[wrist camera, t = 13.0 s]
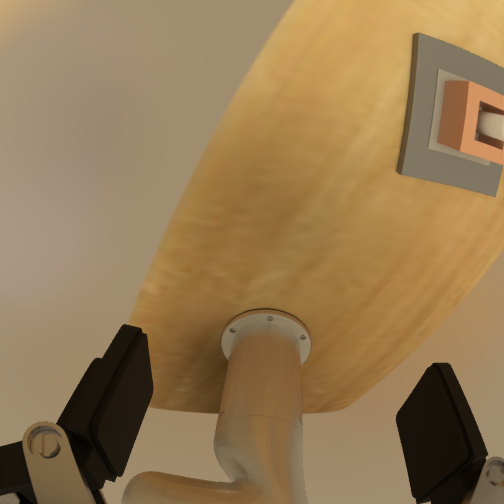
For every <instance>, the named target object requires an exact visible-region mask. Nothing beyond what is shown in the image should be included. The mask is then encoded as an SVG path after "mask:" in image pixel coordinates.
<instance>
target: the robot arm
mask: <svg viewBox="0 0 504 504" xmlns="http://www.w3.org/2000/svg"><path fill="white" fill-rule="evenodd" d="M221 347H222V351H223V353H224V355H225V357H226V358H227V360H228V361H229V363H228V368H227V374H226V379H225V384H224V389H223V395H222V400H221V405H220V410H219V416H218V422H217V426H216V431H215V436H214V451H215V455H216V458H217V460H218V462H219V464H220V465H221V467H222V469H223V470H224V472H225V473H226V475H227V476H228V477H229V478H230V480H231V481H232V483H231V482H230V483H228V482H214V481H207V480H201V479H195V478H189V477H184V476H178V475H173V474H168V473H162V472H155V471H148V472H142V473H139V474H137V475H136V476H134V477H133V478H132V479H131V480H130V481H129V483H128V484H127V486H126V488H125V490H124V494H123V498H122V503H121V504H308V502H307V496H306V490H305V483H304V472H303V471H304V470H303V434H302V433H303V431H302V387H301V365H302V364H303V363H304V362H305V361H306V360H307V358H308V356H309V354H310V351H311V338H310V335H309V332H308V330H307V329H306V327H305V326H304V325H303V324H302V323H301V322H300V321H299V320H298V319H296V318H295V317H293V316H291V315H289V314H287V313H284V312H280V311H275V310H254V311H249V312H246V313H243V314H241V315H239V316H237V317H235V318H234V319H233V320H232V321H230V322H229V324H228V325H227V326H226V327H225V330H224V332H223V335H222V339H221ZM152 394H153V380H152V372H151V365H150V357H149V348H148V339H147V334H145V333H142V329H141V328H139V327H135V326H130V325H126V324H124V325H122V326H121V328H120V329H119V331H118V333H117V334H116V336H115V338H114V339H113V341H112V343H111V344H110V346H109V348H108V349H107V351H106V353H105V354H104V356H103V358H102V359H101V358H96V359H94V360H93V361H92V363H91V364H90V366H89V367H88V369H87V371H86V372H85V374H84V376H83V377H82V379H81V381H80V383H79V384H78V386H77V388H76V389H75V391H74V393H73V394H72V396H71V398H70V400H69V401H68V403H67V405H66V407H65V409H64V410H63V412H62V414H61V416H60V417H59V419H58V421H57V423H56V424H55V423H52V422H47V421H43V422H38V423H35V424H33V425H31V426H30V427H29V428H28V429H27V430H26V432H25V433H24V436H23V440H22V441H20V442H16V443H12V444H8V445H4V446H0V504H107V502H106V499H105V497H104V495H103V493H102V491H101V489H102V488H103V486H104V483H105V480H109V481H112V482H115V480H116V477H117V476H118V477H121V476H122V475H123V473H124V470H125V467H126V465H127V462H128V459H129V456H130V453H131V451H132V448H133V445H134V443H135V440H136V437H137V435H138V432H139V429H140V426H141V424H142V421H143V418H144V416H145V413H146V411H147V408H148V405H149V403H150V400H151V398H152ZM396 424H397V427H398V432H399V436H400V440H401V444H402V449H403V453H404V457H405V462H406V467H407V471H408V477H409V482H410V487H411V492H412V495H413V497H414V498H416V503H417V504H421V503H426V502H429V501H431V504H504V459H503V458H500V457H492V458H489V459H488V460H487V461H486V458H485V457H486V456H487V455H488V452H487V450H486V447H485V444H484V441H483V439H482V436H481V433H480V431H479V429H478V426H477V423H476V421H475V418H474V416H473V414H472V411H471V409H470V406H469V404H468V402H467V400H466V397H465V395H464V393H463V391H462V388H461V386H460V384H459V382H458V380H457V378H456V376H455V373H454V371H453V369H452V367H451V365H450V364H449V363H433V364H432V365H431V366H430V367H428V368H427V369H426V371H425V373H424V374H423V376H422V377H421V379H420V380H419V382H418V384H417V385H416V387H415V388H414V390H413V391H412V393H411V394H410V396H409V397H408V399H407V400H406V401H405V403H404V404H403V406H402V407H401V408H400V410H399V411H398V413H397V415H396Z"/></svg>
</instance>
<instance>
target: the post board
mask: <svg viewBox="0 0 504 504" xmlns="http://www.w3.org/2000/svg"><path fill="white" fill-rule="evenodd" d="M445 81H471V82H473V83H476V84H478V85H481V86H483V87H485V88H488V89H490V90H492V91H494V92H496V93H499V94H501V95H503V96H504V68H502V67H500V66H498V65H496V64H494V63H492V62H490V61H488V60H486V59H484V58H482V57H480V56H478V55H475V54H473V53H471V52H469V51H466V50H464V49H462V48H459V47H457V46H454V45H452V44H449V43H447V42H444V41H442V40H439V39H436V38H433V37H431V36H428V35H425V34H422V33H416V34H413V50H412V64H411V76H410V86H409V95H408V103H407V111H406V119H405V126H404V132H403V139H402V145H401V151H400V157H399V162H398V168H397V172H398V173H399V174H401V175H404V176H409V177H414V178H419V179H424V180H428V181H433V182H437V183H442V184H446V185H450V186H454V187H459V188H463V189H467V190H471V191H474V192H478V193H482V194H486V195H489V196H493V197H496V193H497V189H498V185H499V181H500V177H501V172H502V168H503V165H501V164H498V163H495V162H492V161H489V160H486V159H483V158H480V157H477V156H473V155H470V154H467V153H463V152H460V151H458V150H455V149H453V148H450V147H448V146H445V145H443V144H440V143H437V140H438V134H439V127H440V120H441V113H442V105H443V96H444V86H445ZM479 133H480V134H483V135H487V136H490V137H493V138H496V139H499V140H502V141H504V116H503V115H499V114H494V113H489V112H484V111H482V107H479V111H478V119H477V126H476V133H475V139H474V140H476V141H478V136H479Z"/></svg>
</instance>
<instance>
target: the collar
mask: <svg viewBox="0 0 504 504" xmlns="http://www.w3.org/2000/svg"><path fill="white" fill-rule="evenodd" d="M479 107H482V111H484V112H489V113H494V114H499V115H503V116H504V96H503V95H501V94H499V93H496V92H494V91H492V90H490V89H488V88H485V87H483V86H481V85H478V84H476V83H473V82H471V81H445V86H444V96H443V105H442V113H441V120H440V127H439V134H438V140H437V143H440V144H443V145H445V146H448V147H450V148H453V149H455V150H458V151H460V152H463V153H467V154H470V155H473V156H477V157H480V158H483V159H486V160H489V161H492V162H495V163H498V164H501V165H504V141H502V140H499V139H496V138H493V137H490V136H487V135H483V134H480V133H479V136H478V141H476V140H474V139H475V133H476V126H477V119H478V111H479Z"/></svg>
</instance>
